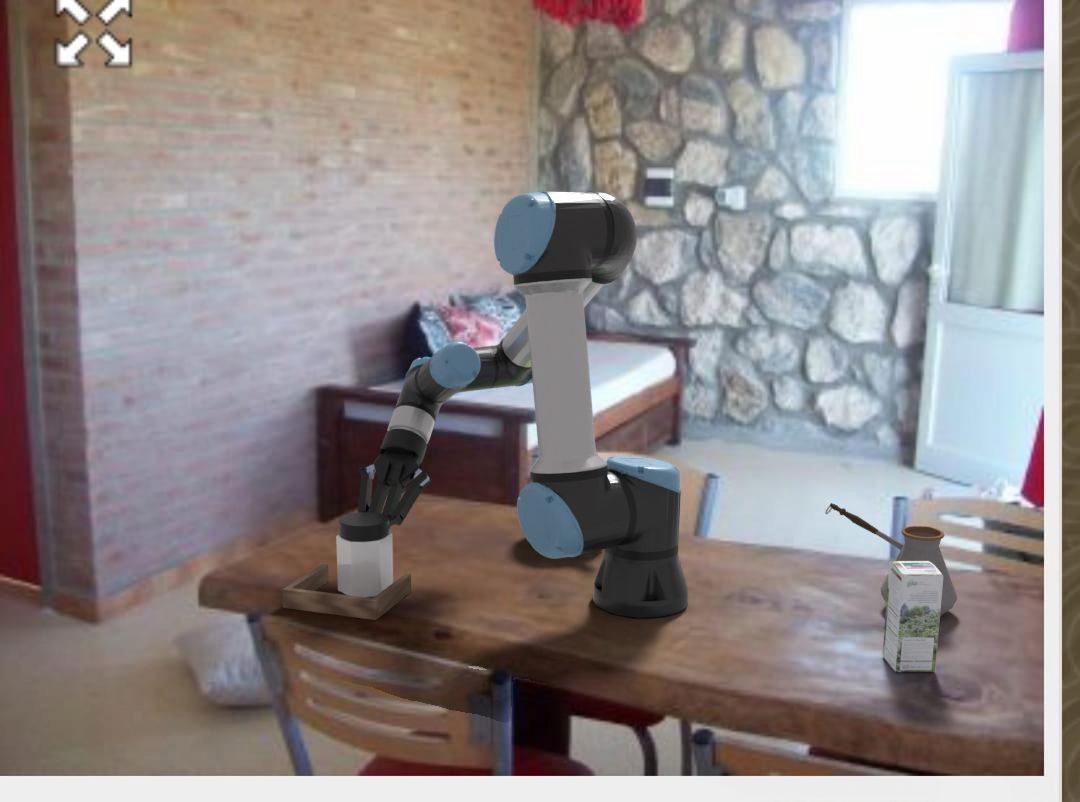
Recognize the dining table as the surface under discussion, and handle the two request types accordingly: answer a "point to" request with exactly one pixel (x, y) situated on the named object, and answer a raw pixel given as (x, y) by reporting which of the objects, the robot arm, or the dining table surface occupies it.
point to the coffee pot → (914, 552)
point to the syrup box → (912, 616)
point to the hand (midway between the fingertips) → (365, 558)
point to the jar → (364, 554)
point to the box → (341, 597)
